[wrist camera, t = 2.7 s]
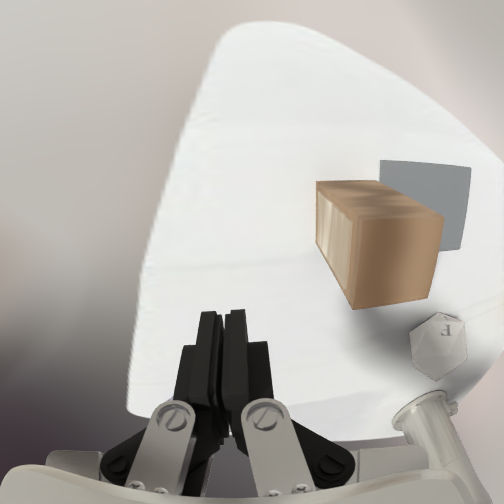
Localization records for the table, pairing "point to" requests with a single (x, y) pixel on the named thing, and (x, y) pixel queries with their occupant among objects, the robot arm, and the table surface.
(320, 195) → the walnut block
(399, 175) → the pad
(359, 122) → the table surface
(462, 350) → the die
